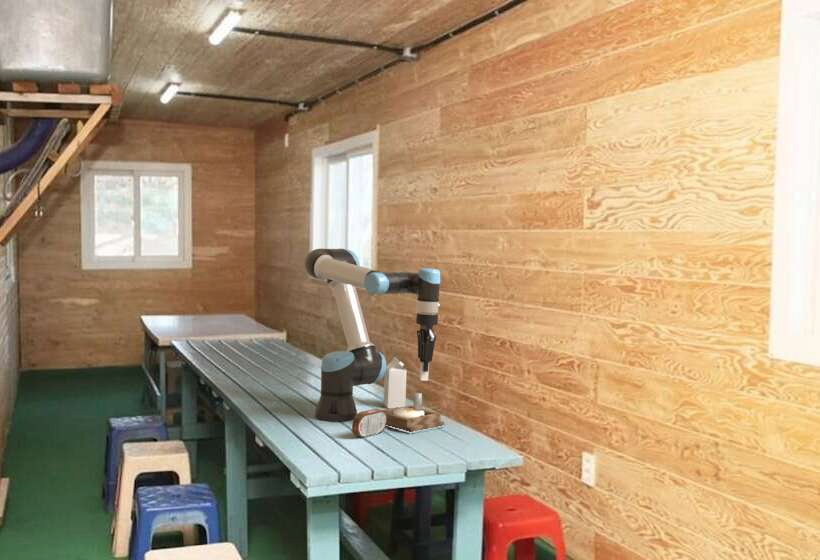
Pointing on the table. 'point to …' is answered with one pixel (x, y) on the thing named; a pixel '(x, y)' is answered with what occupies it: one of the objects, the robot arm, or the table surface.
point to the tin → (369, 422)
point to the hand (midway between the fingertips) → (423, 380)
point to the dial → (411, 412)
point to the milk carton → (395, 384)
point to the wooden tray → (413, 420)
